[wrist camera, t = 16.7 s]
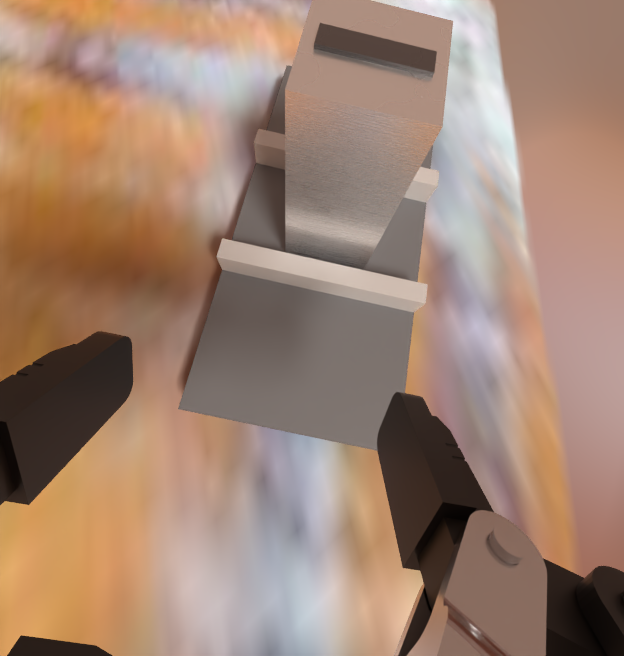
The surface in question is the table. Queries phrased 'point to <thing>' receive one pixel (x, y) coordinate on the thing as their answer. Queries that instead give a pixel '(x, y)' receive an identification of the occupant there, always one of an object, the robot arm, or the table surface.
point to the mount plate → (308, 316)
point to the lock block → (358, 123)
